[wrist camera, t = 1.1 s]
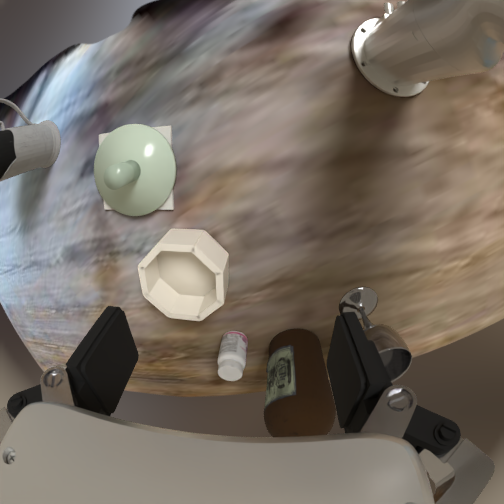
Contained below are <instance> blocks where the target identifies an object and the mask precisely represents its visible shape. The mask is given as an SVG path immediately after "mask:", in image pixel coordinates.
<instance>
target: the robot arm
mask: <svg viewBox="0 0 504 504" xmlns="http://www.w3.org/2000/svg"><path fill="white" fill-rule="evenodd" d="M384 11H385V14H384V15H383V16H382V17H381V18H375V19H370V20H368V21H365V22H364V23H362V24H361V25H360V26H359V27H358V28H357V29H356V31H355V33H354V35H353V37H352V42H351V47H352V54H353V58H354V60H355V63H356V65H357V67H358V68H359V70H360V72H361V73H362V74H363V76H364V77H365V78H366V79H367V80H368V81H369V82H370V83H371V84H372V85H373V86H375V87H376V88H378V89H379V90H381V91H383V92H385V93H387V94H390V95H393V96H398V97H408V96H413V95H416V94H418V93H420V92H421V91H422V90H424V89H425V88H426V86H427V85H428V83H429V81H432V80H437V79H442V78H448V77H454V76H460V75H467V74H474V73H481V72H485V71H488V70H490V69H492V68H493V67H494V66H495V65H496V64H497V63H498V62H499V60H500V59H501V57H502V54H503V51H504V0H408V1H406V2H403V1H399V2H397V9H396V10H395V11H394V8H393V5H392V4H391V3H384ZM361 31H362V32H363V33H362V32H361ZM361 64H363V65H364V67H363V66H362V65H361ZM393 89H394V91H393ZM137 361H138V351H137V348H136V346H135V343H134V340H133V337H132V334H131V331H130V328H129V325H128V322H127V319H126V316H125V313H124V311H122V310H121V308H120V307H113V306H108V307H107V308H106V309H105V310H104V312H103V313H102V314H101V316H100V317H99V318H98V320H97V321H96V322H95V324H94V325H93V326H92V328H91V329H90V330H89V332H88V333H87V335H86V336H85V337H84V339H83V340H82V342H81V343H80V344H79V346H78V347H77V349H76V350H75V351H74V353H73V354H72V356H71V357H70V359H69V360H68V362H67V363H66V366H67V368H66V369H64V368H62V367H58V366H56V367H51V368H49V369H48V370H46V371H45V372H44V374H43V375H42V377H41V384H40V385H38V386H35V387H32V388H29V389H27V390H24V391H21V392H19V393H16V394H14V395H13V396H12V397H11V398H10V399H9V401H8V404H7V409H6V408H5V407H4V408H2V409H1V410H0V504H473V503H474V502H475V500H476V499H477V498H478V496H479V495H480V494H481V492H482V491H483V489H484V488H485V486H486V485H487V483H488V481H489V480H490V479H491V477H492V475H493V473H494V463H493V461H492V460H491V459H490V458H489V457H488V456H487V455H486V454H485V453H483V452H482V451H481V450H480V449H479V448H477V447H476V446H475V445H474V444H473V443H471V442H470V441H469V440H468V439H466V438H465V439H464V440H463V439H462V438H461V437H460V436H461V435H460V429H459V427H458V426H457V424H456V423H454V422H453V421H451V420H449V419H447V418H444V417H442V416H440V415H438V414H435V413H433V412H431V411H429V410H427V409H424V408H422V407H420V406H418V405H417V398H416V395H415V394H414V392H413V391H412V390H411V389H409V388H407V387H406V386H402V385H394V386H393V385H392V383H391V380H390V378H389V375H388V373H387V371H386V368H385V366H384V364H383V361H382V359H381V357H380V354H379V352H378V350H377V348H376V345H375V343H374V342H373V341H372V340H368V339H367V337H366V335H365V333H364V330H363V328H362V326H361V324H360V322H359V319H358V317H357V315H356V313H355V312H342V313H341V314H340V316H337V317H336V321H335V326H334V331H333V336H332V340H331V345H330V349H329V354H328V358H327V369H328V373H329V378H330V382H331V387H332V391H333V396H334V400H335V405H336V409H337V415H338V420H339V424H340V427H341V428H344V429H345V433H343V434H329V435H317V436H301V437H235V436H219V435H208V434H198V433H189V432H182V431H176V430H170V429H164V428H158V427H153V426H148V425H143V424H138V423H134V422H130V421H125V420H121V419H117V418H114V417H110V415H111V413H113V412H114V411H115V409H116V407H117V405H118V402H119V400H120V398H121V396H122V393H123V391H124V389H125V387H126V384H127V382H128V380H129V378H130V376H131V374H132V371H133V369H134V367H135V365H136V363H137ZM426 471H427V472H428V473H429V474H430V475H429V477H430V478H431V479H433V481H434V482H435V484H436V491H435V494H434V495H433V494H432V490H431V487H430V483H429V479H428V476H427V473H426Z"/></svg>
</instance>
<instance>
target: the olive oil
mask: <svg viewBox="0 0 504 504" xmlns="http://www.w3.org/2000/svg"><path fill="white" fill-rule="evenodd" d="M266 372H267V373H268V377H267V389H266V399H265V408H264V420H265V424H266V427H267V430H268V432H269V433H270V434H271V436H273V437H301V436H317V435H327V434H328V432H329V431H330V430H331V428H332V426H333V424H334V419H335V414H336V409H335V403H334V399H333V395H332V392H331V387H330V383H329V379H328V375H327V371H326V367H325V363H324V359H323V355H322V350H321V346H320V342H319V339H318V338H317V336H316V335H315V334H314V333H312V332H310V331H308V330H304V329H290V330H286V331H283V332H281V333H279V334H278V335H277V336H275V337H274V338H273V340H272V341H271V343H270V348H269V361H268V364H267V370H266Z"/></svg>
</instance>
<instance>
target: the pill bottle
mask: <svg viewBox="0 0 504 504" xmlns="http://www.w3.org/2000/svg"><path fill="white" fill-rule="evenodd" d="M247 346H248V339H247V337H246V336H245V335H244V334H243V333H241V332H238V331H229V332H227V333H225V334H224V335H223V337H222V341H221V346H220V351H219V356H218V365H219V368H218V375H219V376H220V377H221V378H222V379H224V380H228V381H236V380H239V379H240V378H241V377H242V374H243V369H244V368H245V365H246V357H247Z"/></svg>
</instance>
